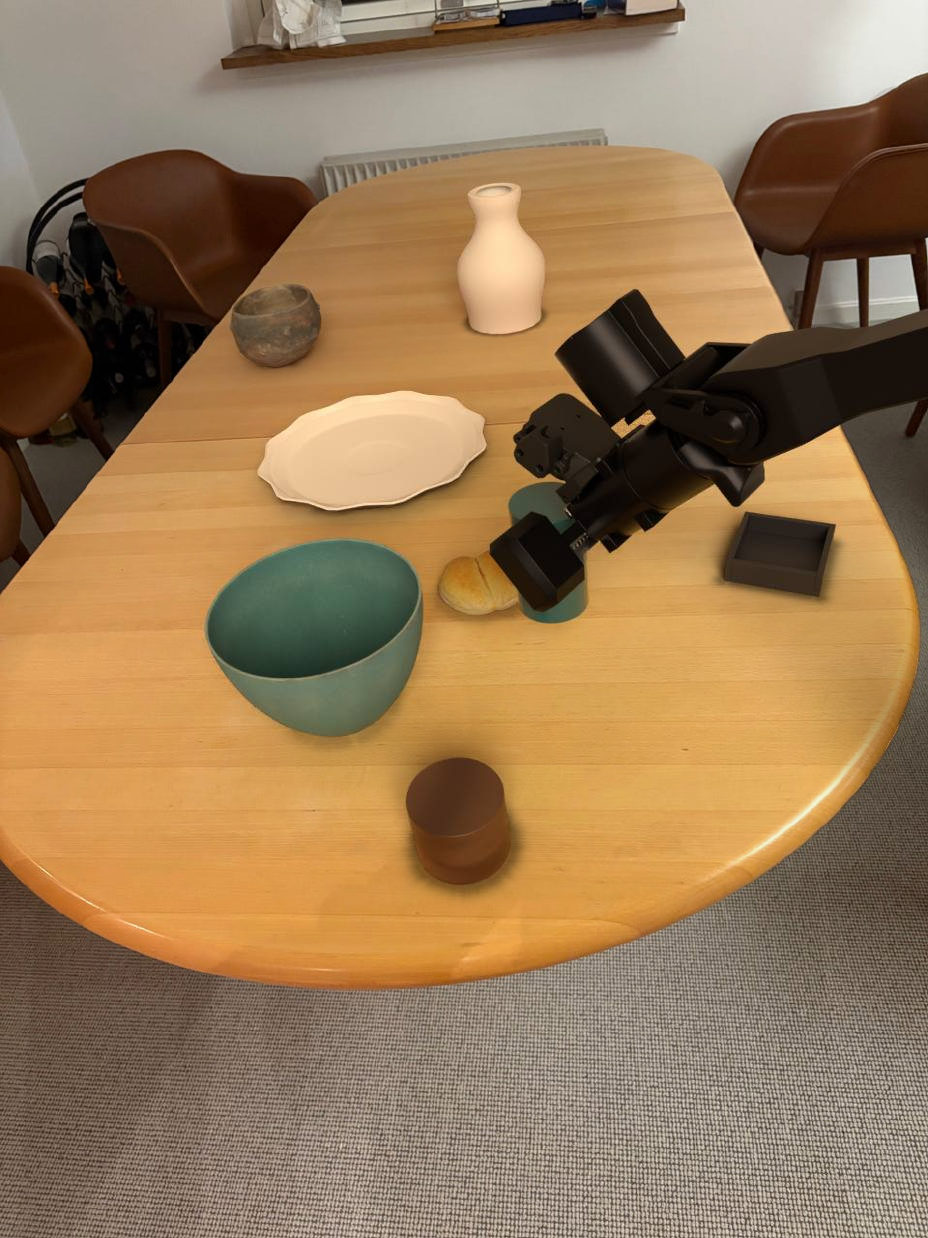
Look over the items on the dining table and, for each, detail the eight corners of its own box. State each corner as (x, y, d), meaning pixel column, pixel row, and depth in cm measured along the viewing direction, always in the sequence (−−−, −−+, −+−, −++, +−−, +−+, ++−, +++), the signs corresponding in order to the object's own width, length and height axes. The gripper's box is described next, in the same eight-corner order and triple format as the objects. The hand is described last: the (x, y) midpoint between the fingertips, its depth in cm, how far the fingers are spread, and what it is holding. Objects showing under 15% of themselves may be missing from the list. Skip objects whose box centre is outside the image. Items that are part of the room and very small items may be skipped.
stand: (524, 821, 69) (518, 771, 65) (487, 897, 64) (479, 849, 60) (442, 796, 72) (432, 747, 68) (401, 868, 67) (388, 819, 63)
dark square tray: (832, 543, 91) (836, 523, 89) (819, 597, 85) (823, 576, 83) (742, 530, 94) (744, 511, 92) (724, 580, 88) (725, 560, 86)
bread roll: (435, 578, 94) (430, 547, 91) (517, 562, 94) (514, 531, 92) (446, 626, 88) (441, 595, 85) (534, 609, 88) (531, 577, 86)
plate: (532, 464, 109) (530, 447, 108) (318, 554, 100) (313, 537, 98) (419, 386, 130) (417, 371, 128) (233, 456, 120) (228, 440, 119)
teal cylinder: (603, 600, 74) (601, 500, 68) (549, 633, 72) (541, 533, 65) (556, 570, 78) (550, 473, 72) (504, 600, 76) (492, 502, 69)
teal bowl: (459, 752, 75) (439, 646, 67) (247, 804, 73) (201, 702, 65) (422, 621, 89) (402, 520, 81) (243, 662, 87) (205, 563, 79)
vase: (449, 334, 143) (431, 204, 130) (481, 300, 153) (468, 176, 140) (531, 339, 138) (522, 204, 125) (559, 303, 148) (553, 174, 135)
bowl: (332, 335, 149) (319, 275, 142) (324, 374, 137) (309, 311, 131) (251, 345, 150) (234, 286, 143) (236, 385, 138) (217, 323, 131)
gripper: (657, 324, 64) (544, 426, 77) (497, 436, 54) (399, 531, 67) (748, 445, 65) (621, 526, 78) (607, 578, 55) (489, 644, 68)
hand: (537, 552), depth 73 cm, fingers closed on teal cylinder, 6 cm apart
